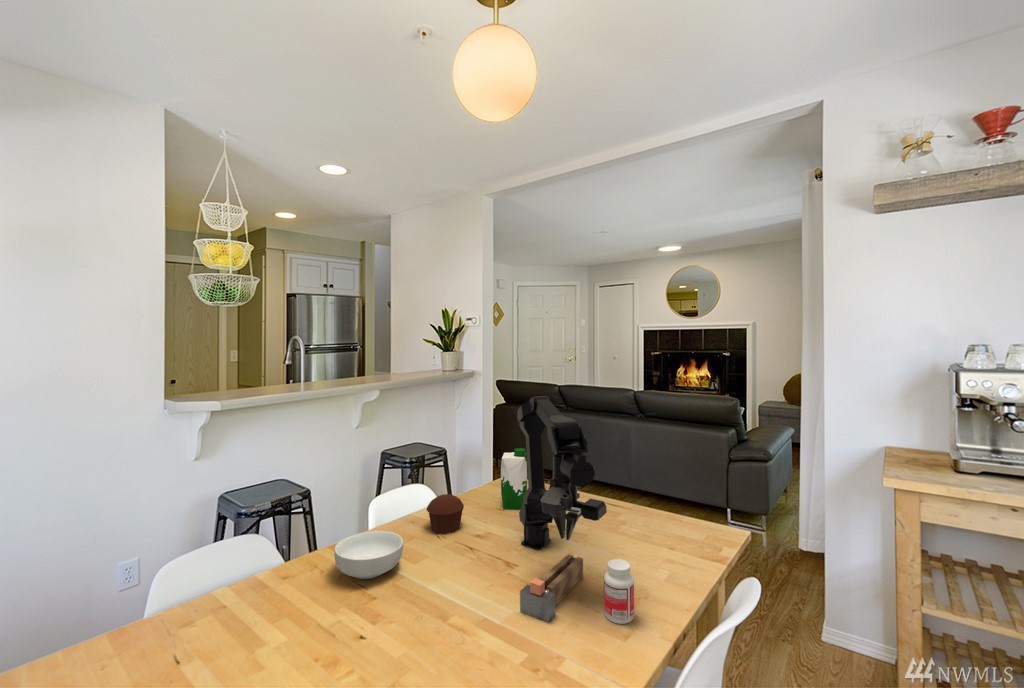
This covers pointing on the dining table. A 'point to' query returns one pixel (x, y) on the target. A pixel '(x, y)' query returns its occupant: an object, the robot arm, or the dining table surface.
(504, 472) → the milk carton
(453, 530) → the muffin
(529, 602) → the grey block
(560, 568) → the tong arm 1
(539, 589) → the tab
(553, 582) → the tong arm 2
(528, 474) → the robot arm
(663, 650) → the dining table surface
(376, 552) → the cereal bowl
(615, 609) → the pill bottle
